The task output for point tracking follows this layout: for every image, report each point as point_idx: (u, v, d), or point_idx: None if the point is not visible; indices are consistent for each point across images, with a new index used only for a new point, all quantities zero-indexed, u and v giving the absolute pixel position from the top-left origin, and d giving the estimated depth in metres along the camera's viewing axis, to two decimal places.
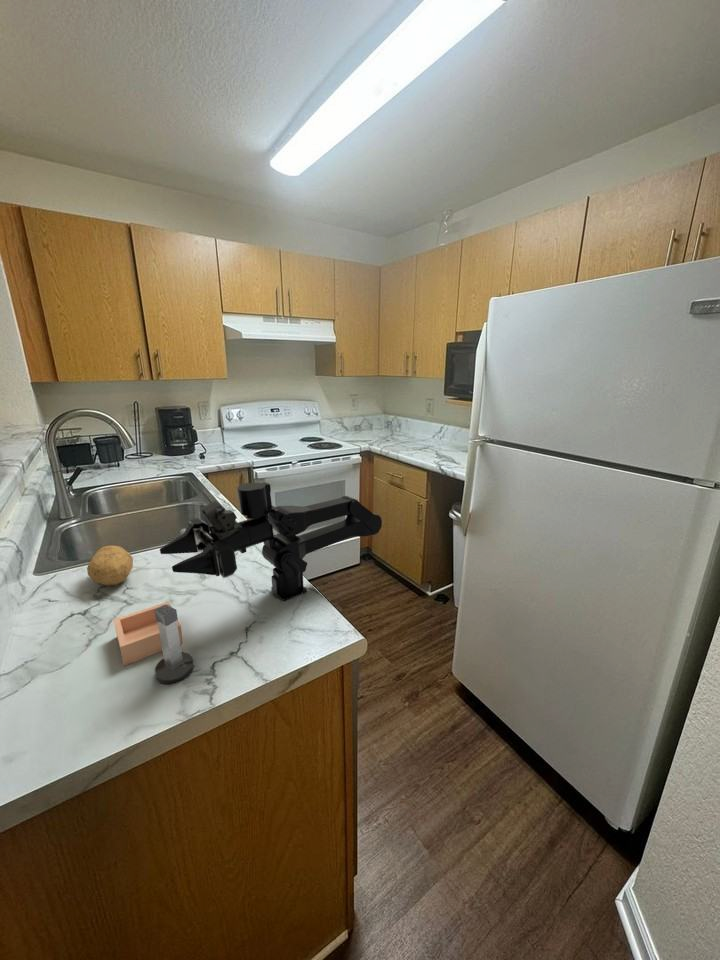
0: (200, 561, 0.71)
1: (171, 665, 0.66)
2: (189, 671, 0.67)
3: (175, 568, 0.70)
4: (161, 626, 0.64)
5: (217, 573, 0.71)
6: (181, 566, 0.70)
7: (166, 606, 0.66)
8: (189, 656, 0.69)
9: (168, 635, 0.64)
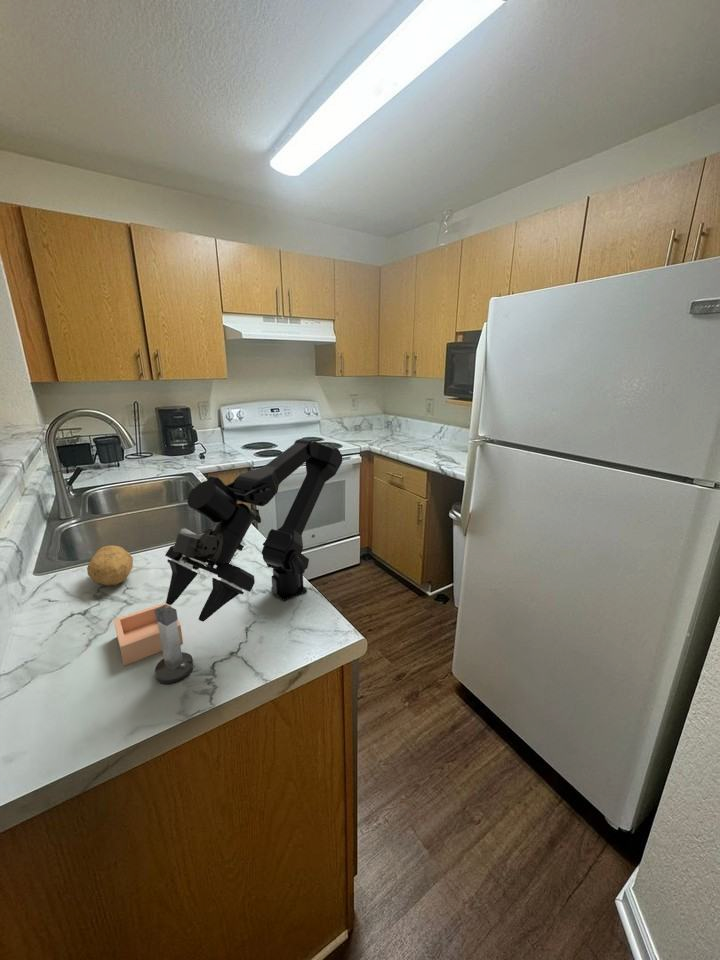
0: (218, 596, 0.67)
1: (171, 665, 0.66)
2: (189, 671, 0.67)
3: (202, 618, 0.66)
4: (161, 626, 0.64)
5: (241, 593, 0.68)
6: (206, 613, 0.65)
7: (166, 606, 0.66)
8: (189, 656, 0.69)
9: (168, 635, 0.64)
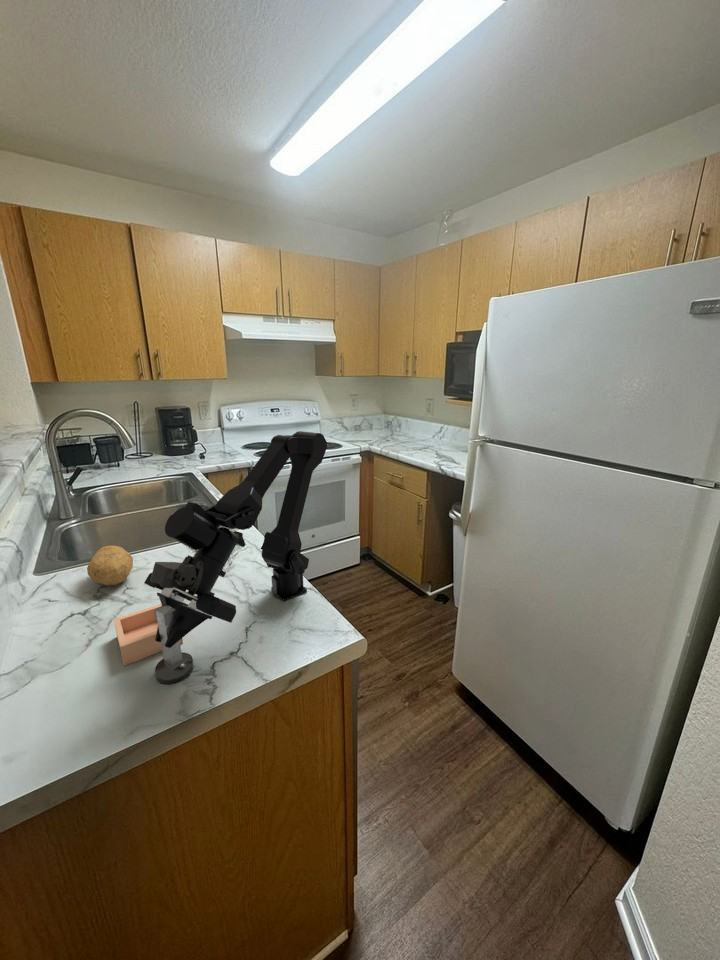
0: (186, 621, 0.65)
1: (171, 665, 0.66)
2: (189, 671, 0.67)
3: (169, 644, 0.64)
4: (161, 626, 0.64)
5: (209, 617, 0.67)
6: (173, 639, 0.64)
7: (166, 605, 0.65)
8: (189, 656, 0.69)
9: (168, 635, 0.64)
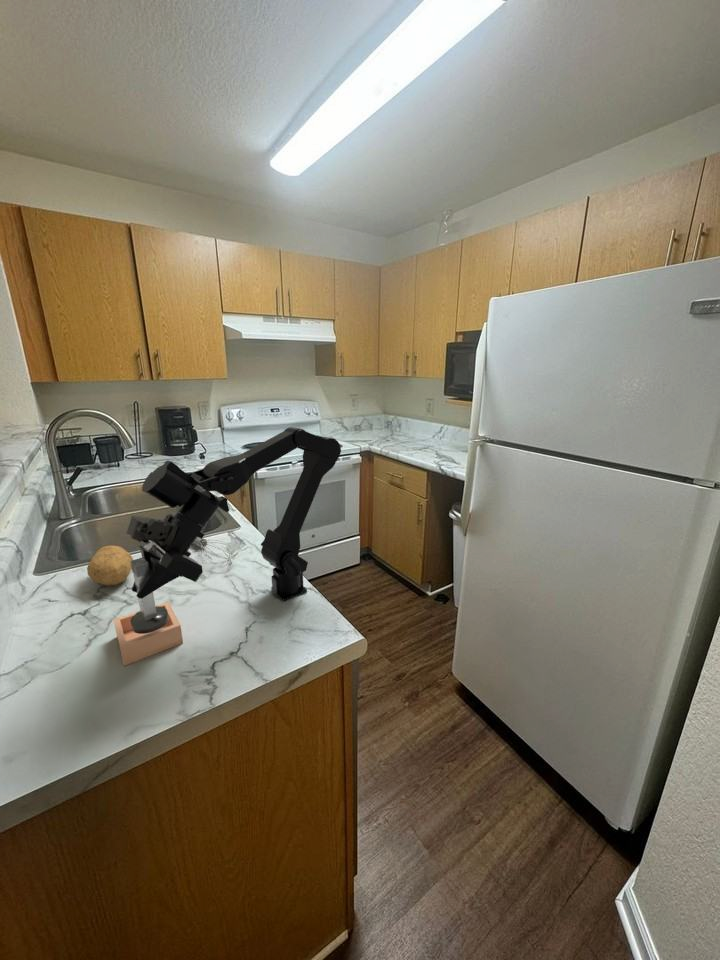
0: (157, 575, 0.68)
1: (144, 616, 0.69)
2: (160, 624, 0.69)
3: (141, 595, 0.67)
4: (135, 577, 0.68)
5: (180, 575, 0.68)
6: (144, 590, 0.67)
7: (142, 558, 0.69)
8: (165, 611, 0.72)
9: (140, 586, 0.67)
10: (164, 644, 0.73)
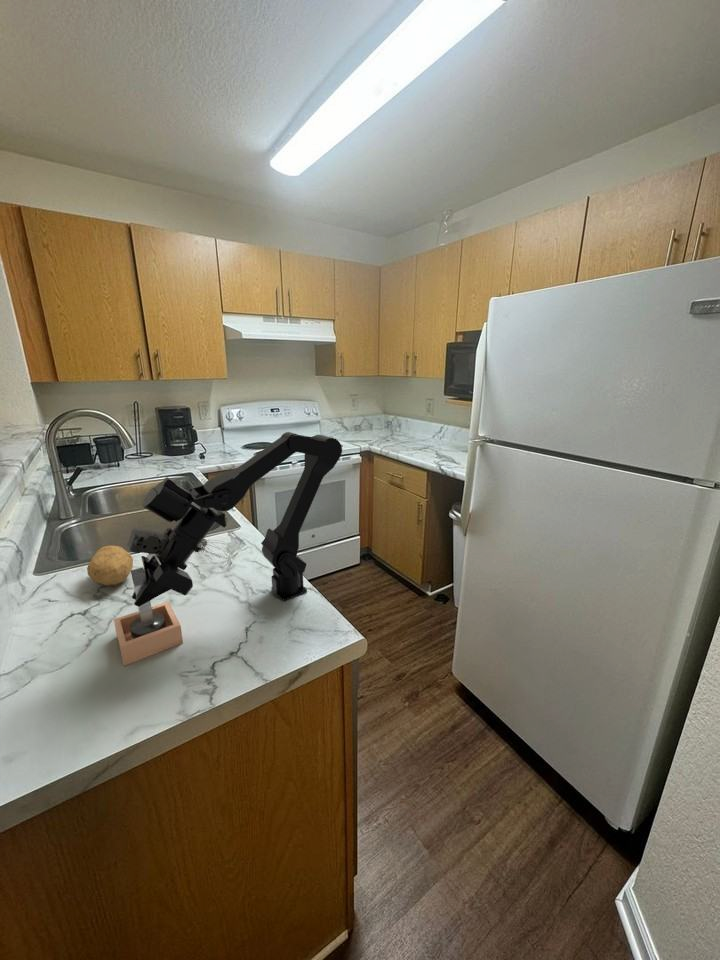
0: (153, 586, 0.72)
1: (142, 622, 0.73)
2: None
3: (138, 603, 0.72)
4: (134, 586, 0.72)
5: None
6: (141, 599, 0.71)
7: (141, 568, 0.73)
8: (162, 618, 0.76)
9: (137, 595, 0.72)
10: (164, 644, 0.73)
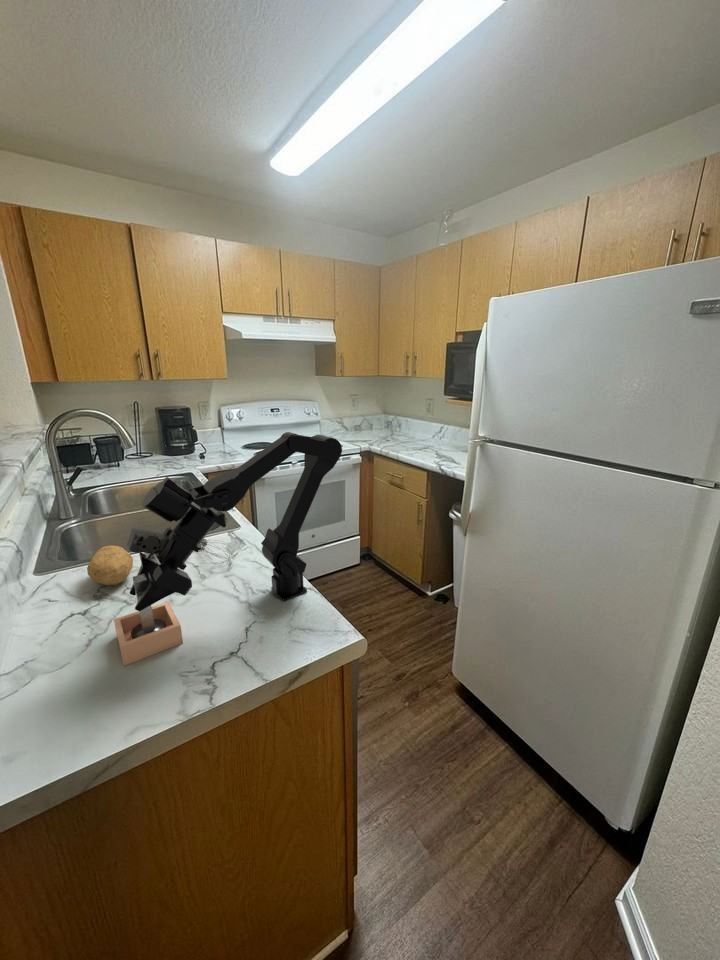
0: (154, 590, 0.70)
1: (143, 628, 0.74)
2: None
3: (139, 608, 0.70)
4: (135, 592, 0.73)
5: None
6: (142, 604, 0.70)
7: (143, 575, 0.73)
8: (163, 624, 0.76)
9: None
10: (164, 644, 0.73)
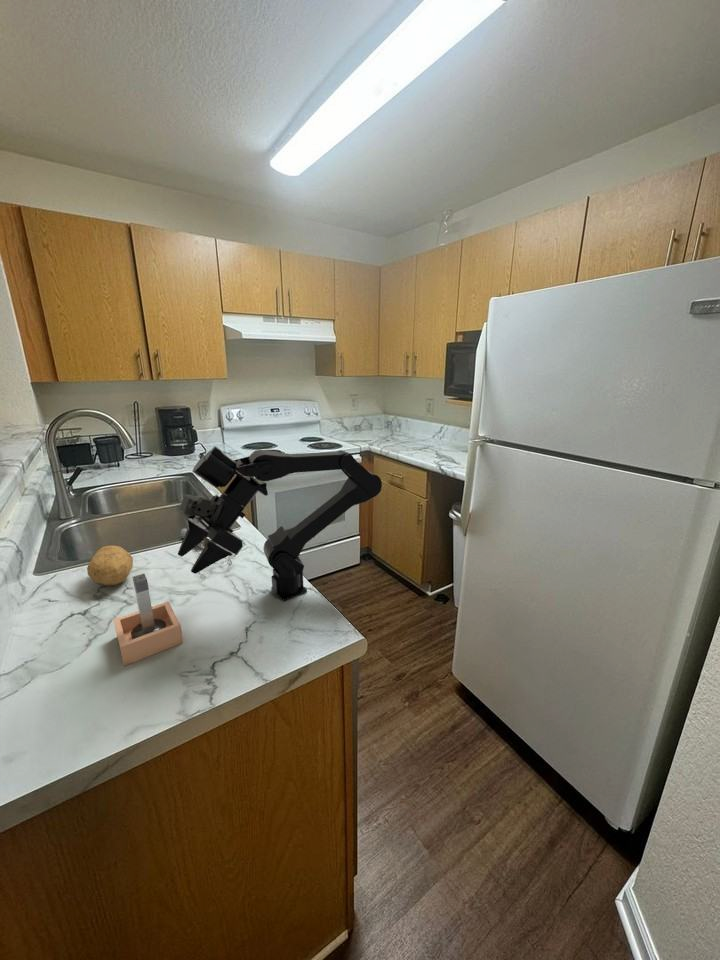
0: (209, 553, 0.74)
1: (143, 628, 0.74)
2: None
3: (194, 570, 0.74)
4: (135, 592, 0.73)
5: (229, 554, 0.75)
6: (197, 566, 0.74)
7: (143, 575, 0.73)
8: (163, 624, 0.76)
9: (139, 601, 0.72)
10: (164, 644, 0.73)
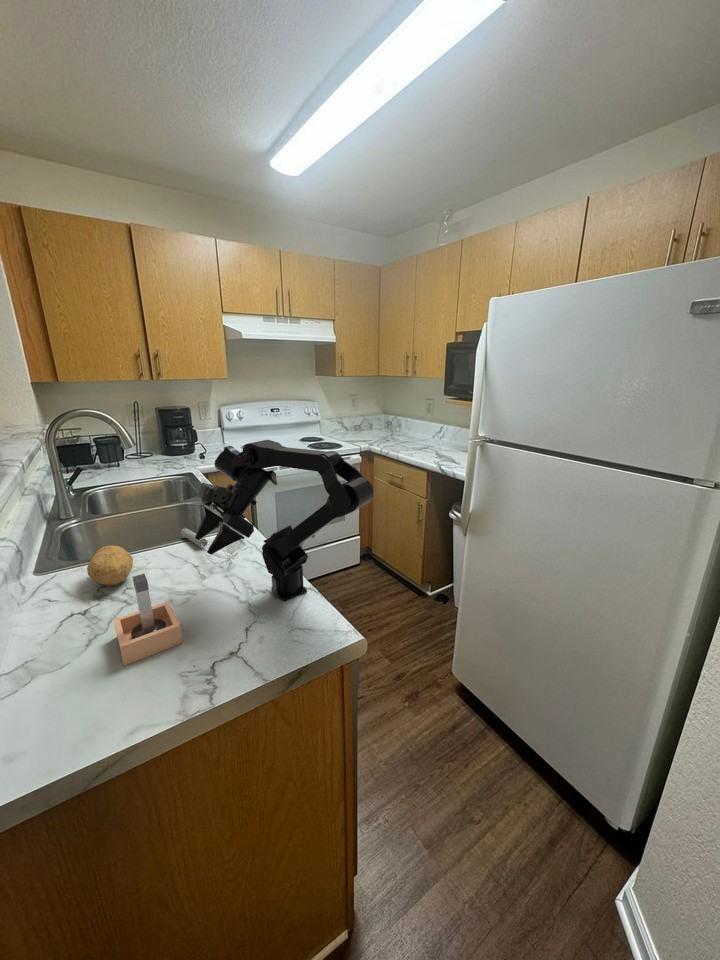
0: (224, 536, 0.82)
1: (143, 628, 0.74)
2: None
3: (210, 551, 0.82)
4: (135, 592, 0.73)
5: (241, 537, 0.82)
6: (213, 548, 0.82)
7: (143, 575, 0.73)
8: (163, 624, 0.76)
9: (139, 601, 0.72)
10: (164, 644, 0.73)
